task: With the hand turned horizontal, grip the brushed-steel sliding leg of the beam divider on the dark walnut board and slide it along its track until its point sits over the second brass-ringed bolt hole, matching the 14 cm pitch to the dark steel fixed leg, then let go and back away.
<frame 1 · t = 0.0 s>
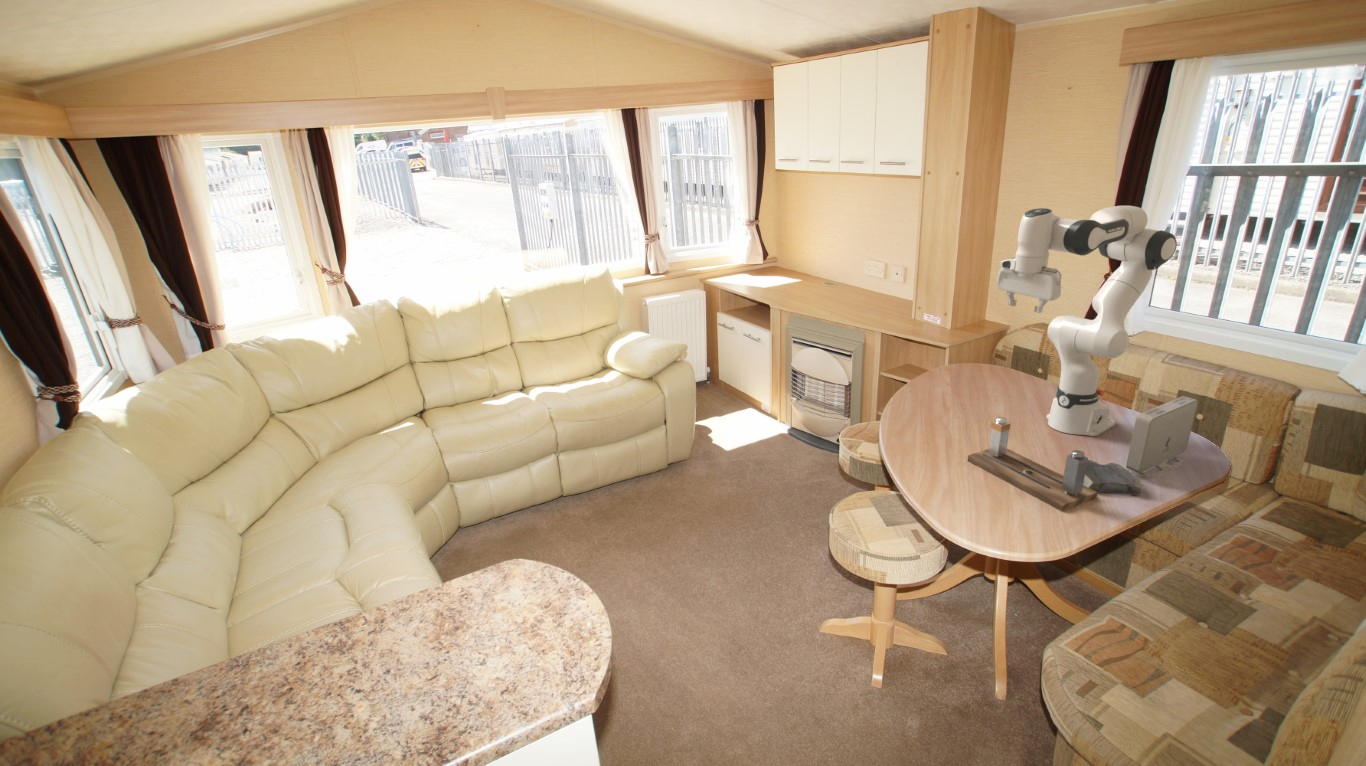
hand: (1024, 308, 196), 48 cm above the table, tool pointing down, fingers open, 8 cm apart
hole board: (1027, 478, 194), on the table
sliding leg: (999, 437, 201), point 9 cm above the table, slide at 0.0 cm
network device: (1153, 465, 197), on the table
fixed leg: (1069, 499, 182), resting on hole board
fossil: (1104, 483, 190), on the table
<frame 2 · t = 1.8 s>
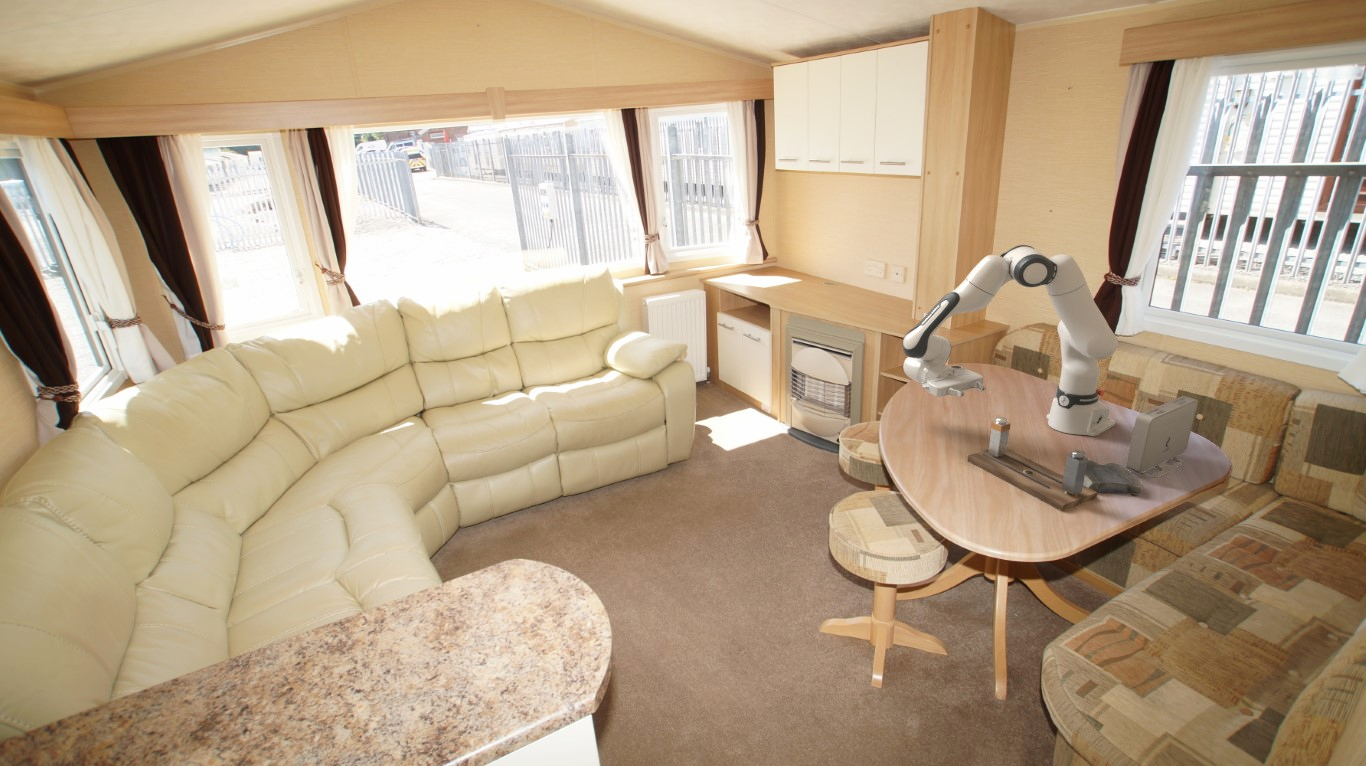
hand: (973, 391, 208), 20 cm above the table, tool horizontal, fingers open, 8 cm apart
nothing on the table moved.
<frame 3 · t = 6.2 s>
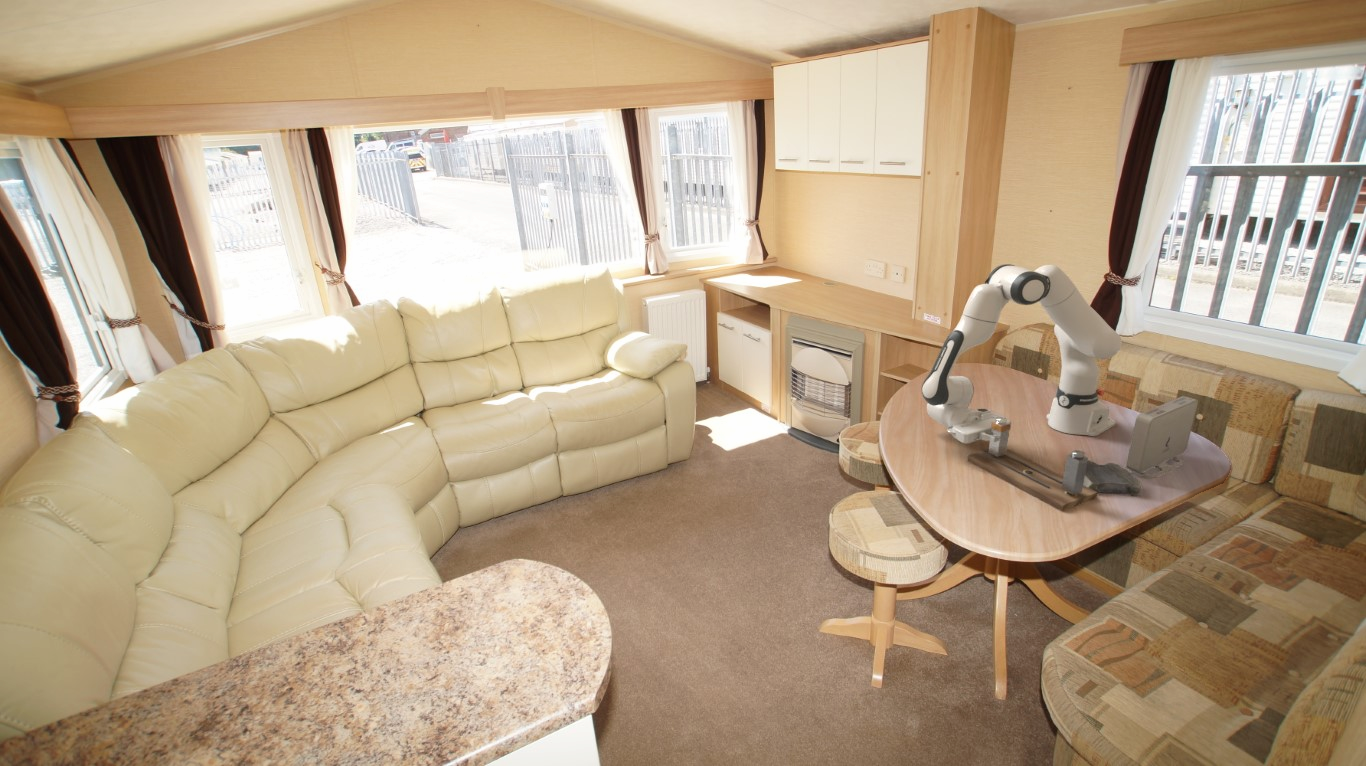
hand: (1001, 438, 201), 9 cm above the table, tool horizontal, fingers closed on sliding leg, 4 cm apart
sliding leg: (999, 437, 201), point 9 cm above the table, slide at 0.0 cm, touching gripper
everything else where it was.
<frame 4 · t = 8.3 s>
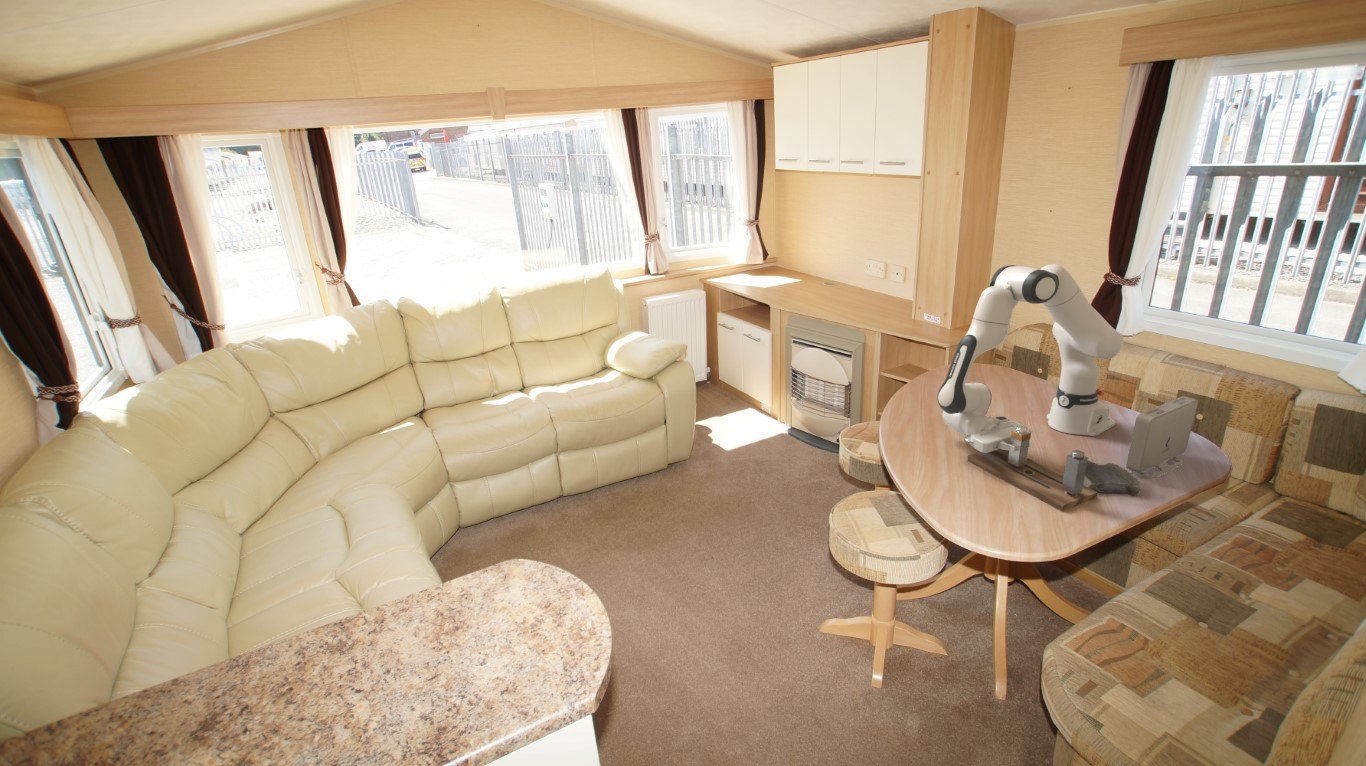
hand: (1021, 447, 194), 9 cm above the table, tool horizontal, fingers closed on sliding leg, 4 cm apart
sliding leg: (1019, 446, 195), point 9 cm above the table, slide at 7.5 cm, touching gripper
everything else where it was.
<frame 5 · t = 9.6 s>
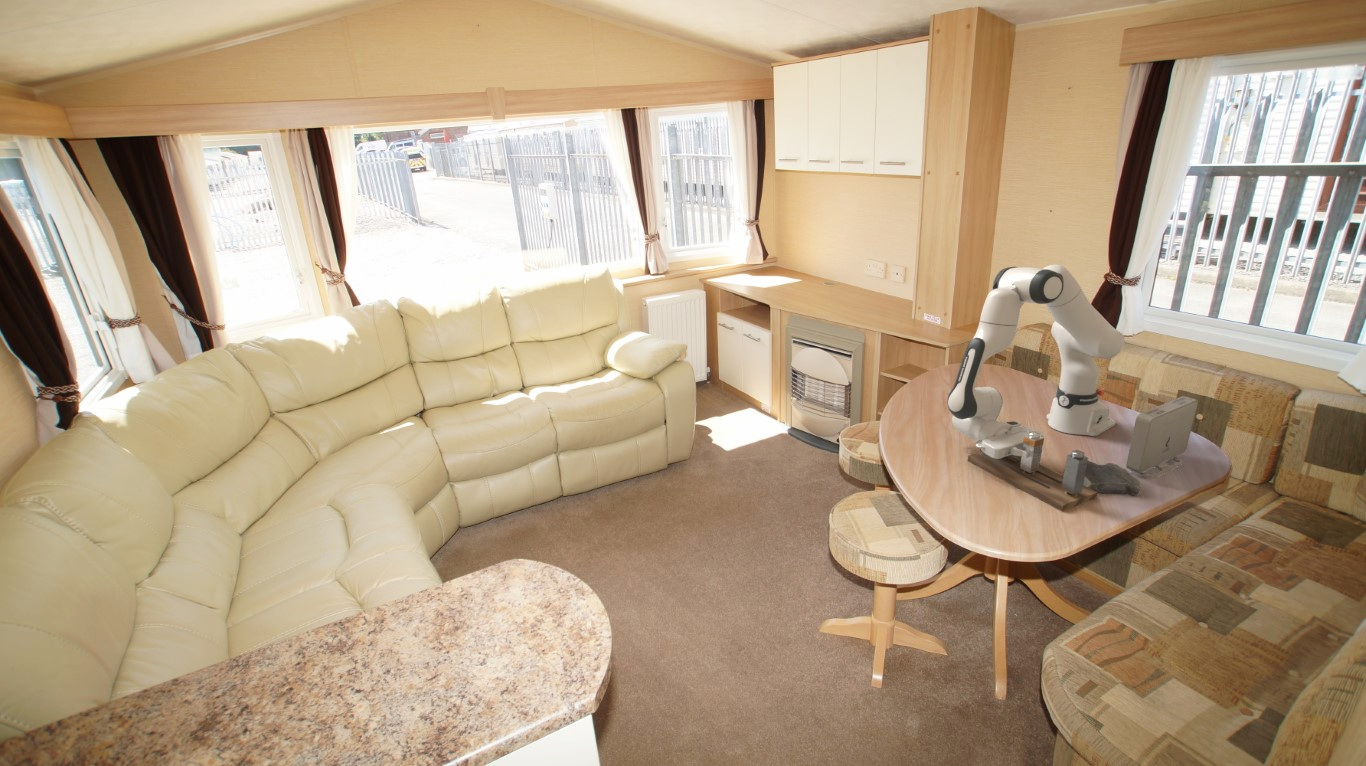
hand: (1034, 453, 190), 9 cm above the table, tool horizontal, fingers closed on sliding leg, 4 cm apart
sliding leg: (1031, 452, 191), point 9 cm above the table, slide at 12.0 cm, touching gripper
everything else where it was.
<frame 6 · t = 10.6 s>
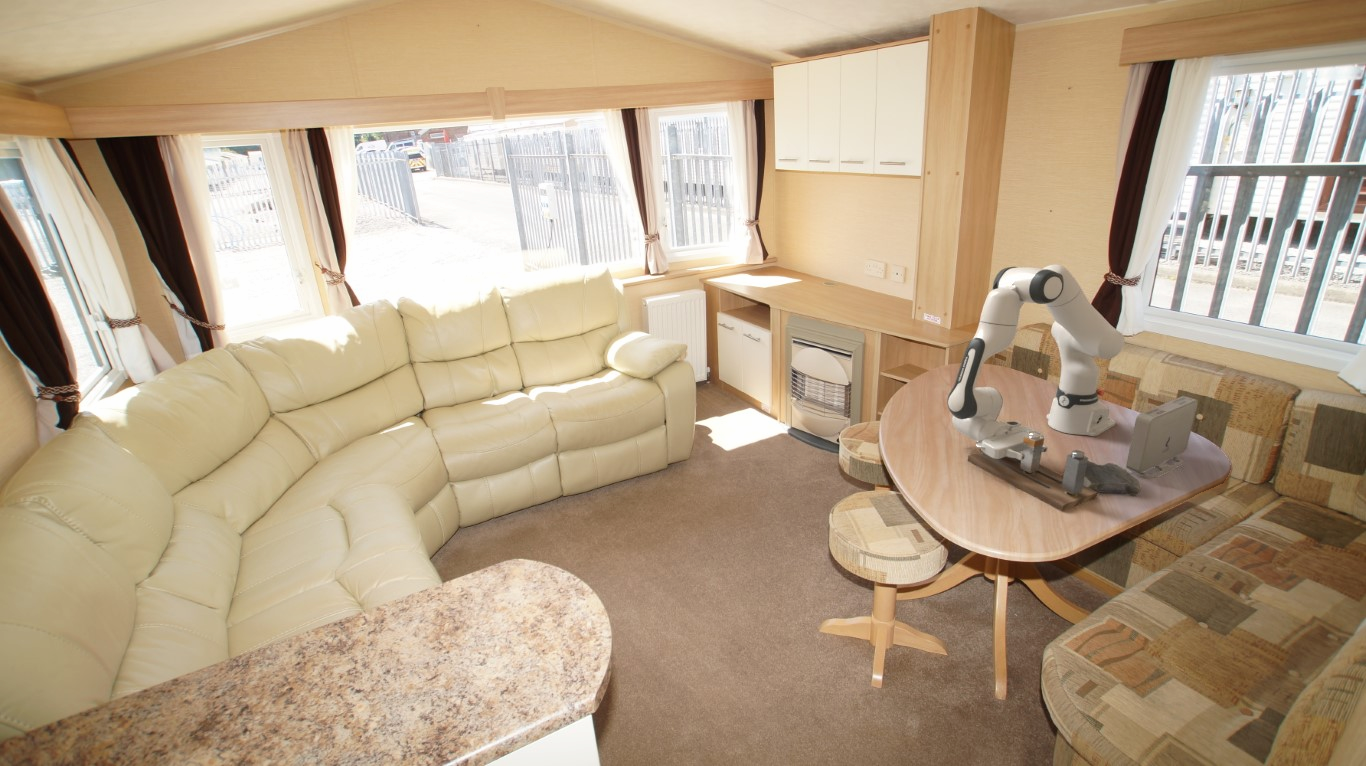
hand: (1034, 453, 190), 9 cm above the table, tool horizontal, fingers open, 8 cm apart
sliding leg: (1031, 452, 191), point 9 cm above the table, slide at 12.0 cm
everything else where it was.
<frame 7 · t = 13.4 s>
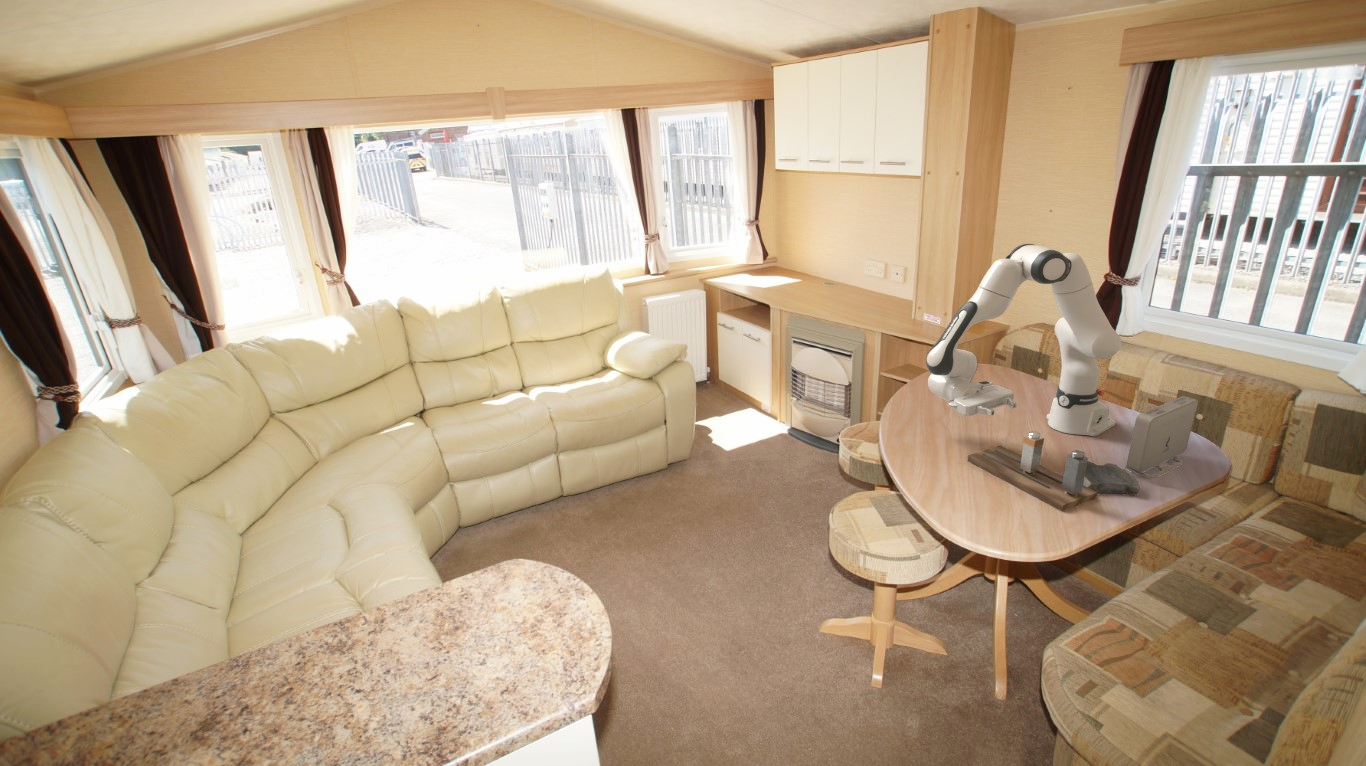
hand: (1003, 409, 198), 19 cm above the table, tool horizontal, fingers open, 8 cm apart
nothing on the table moved.
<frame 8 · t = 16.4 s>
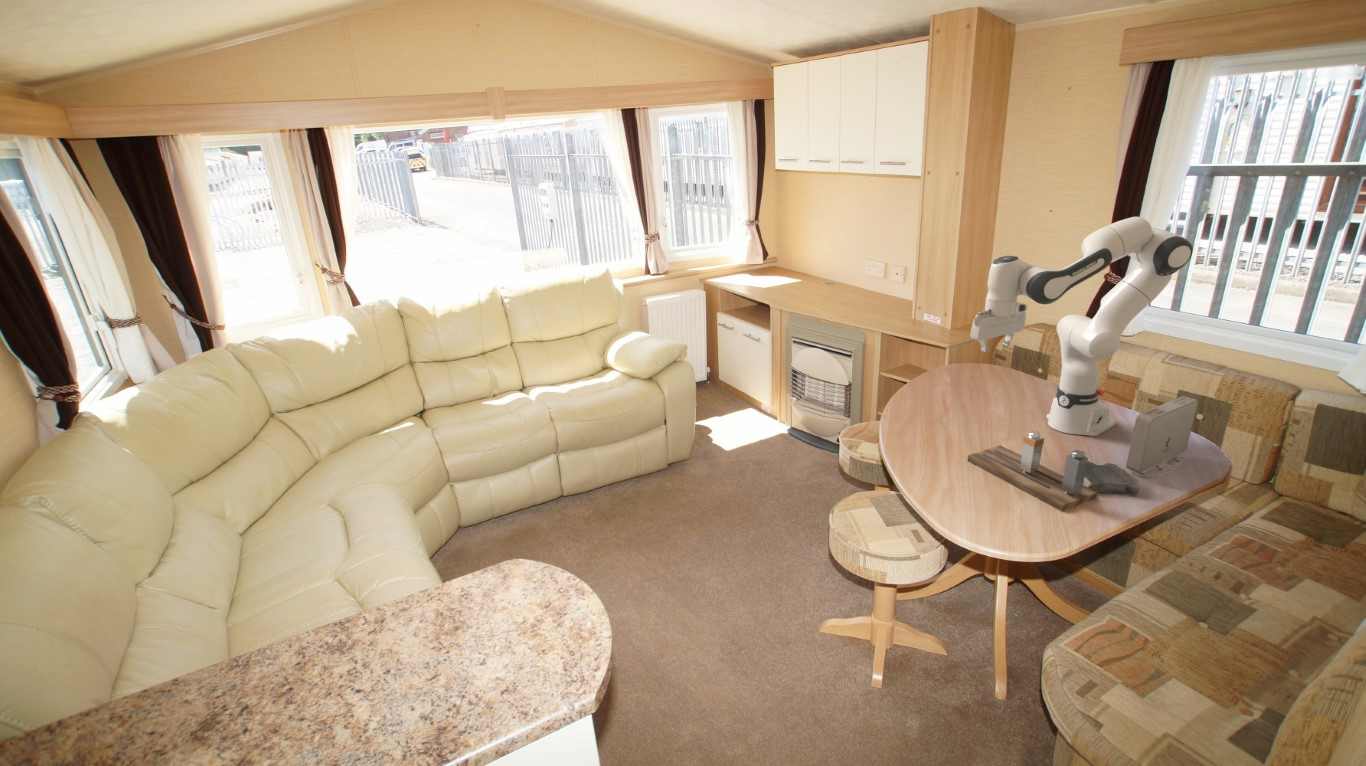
hand: (995, 348, 208), 33 cm above the table, tool pointing down, fingers open, 8 cm apart
nothing on the table moved.
at the end: sliding leg slide at 12.0 cm; the gripper is holding nothing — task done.
